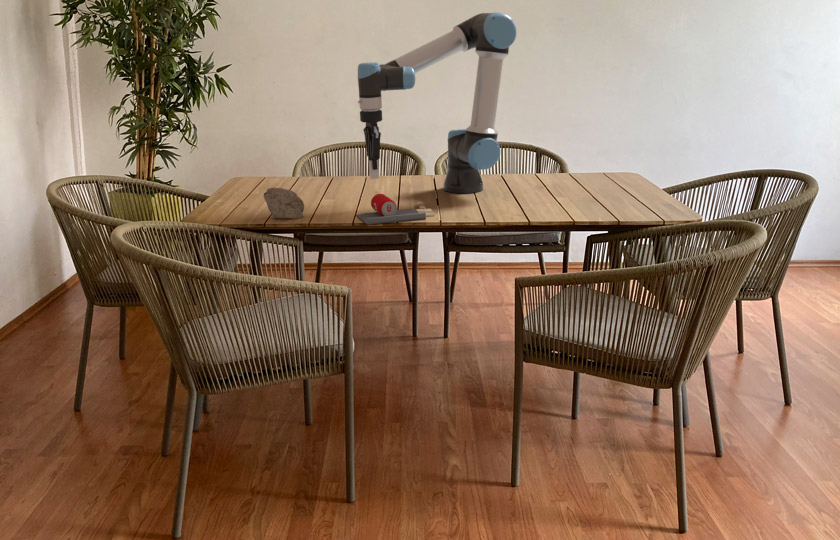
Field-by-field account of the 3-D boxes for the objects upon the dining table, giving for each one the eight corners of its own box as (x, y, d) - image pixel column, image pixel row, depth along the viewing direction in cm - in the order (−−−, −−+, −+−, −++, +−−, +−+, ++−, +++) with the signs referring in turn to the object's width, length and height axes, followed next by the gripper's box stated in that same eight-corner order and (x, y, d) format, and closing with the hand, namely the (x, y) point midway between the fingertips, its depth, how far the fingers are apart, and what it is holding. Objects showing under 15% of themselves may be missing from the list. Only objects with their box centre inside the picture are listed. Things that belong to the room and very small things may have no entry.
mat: (412, 209, 276) (411, 204, 275) (425, 219, 263) (425, 213, 262) (356, 215, 269) (355, 209, 269) (367, 224, 257) (367, 218, 256)
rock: (298, 193, 275) (307, 189, 268) (298, 222, 274) (307, 219, 267) (260, 189, 268) (268, 185, 261) (259, 219, 267) (267, 216, 260)
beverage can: (370, 211, 273) (380, 219, 262) (369, 194, 271) (379, 201, 260) (388, 210, 275) (398, 217, 264) (387, 192, 273) (398, 199, 262)
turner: (411, 205, 282) (411, 202, 281) (425, 204, 283) (425, 201, 282) (419, 216, 266) (419, 213, 265) (434, 216, 267) (434, 212, 266)
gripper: (355, 108, 275) (359, 176, 282) (365, 112, 263) (369, 182, 270) (375, 107, 277) (379, 173, 284) (387, 110, 265) (390, 180, 273)
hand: (374, 178), depth 277 cm, fingers closed
